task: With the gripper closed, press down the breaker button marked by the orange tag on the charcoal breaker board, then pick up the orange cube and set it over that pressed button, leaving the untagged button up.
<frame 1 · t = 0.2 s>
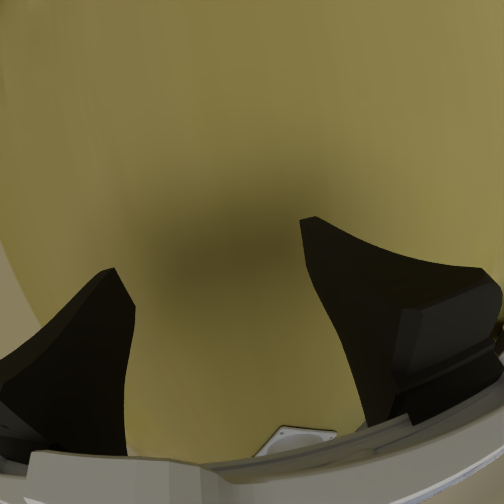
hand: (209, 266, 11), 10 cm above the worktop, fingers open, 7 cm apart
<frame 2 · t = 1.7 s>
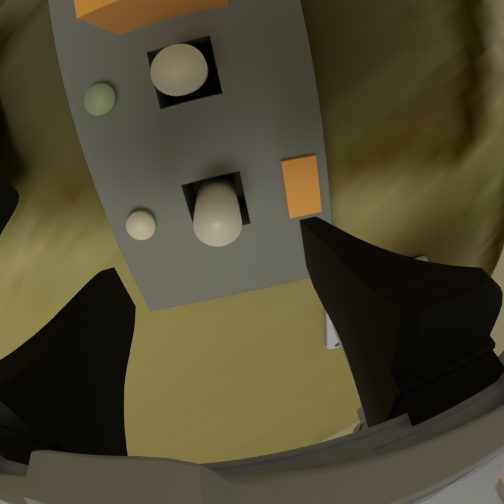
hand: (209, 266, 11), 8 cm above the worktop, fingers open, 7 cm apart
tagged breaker: (217, 208, 15), point 4 cm above the worktop, slide at 0.0 cm
breaker board: (197, 106, 16), on the worktop
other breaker: (183, 71, 12), point 3 cm above the worktop, slide at 0.0 cm
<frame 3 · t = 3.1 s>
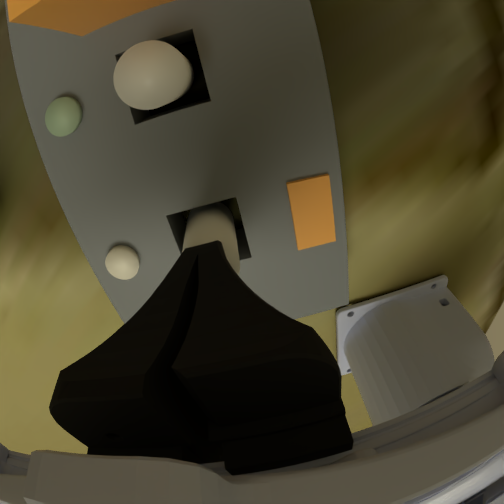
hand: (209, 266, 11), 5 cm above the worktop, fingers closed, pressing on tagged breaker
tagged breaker: (210, 242, 13), point 3 cm above the worktop, slide at 0.1 cm, touching gripper
breaker board: (183, 116, 13), on the worktop
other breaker: (159, 75, 9), point 3 cm above the worktop, slide at 0.0 cm
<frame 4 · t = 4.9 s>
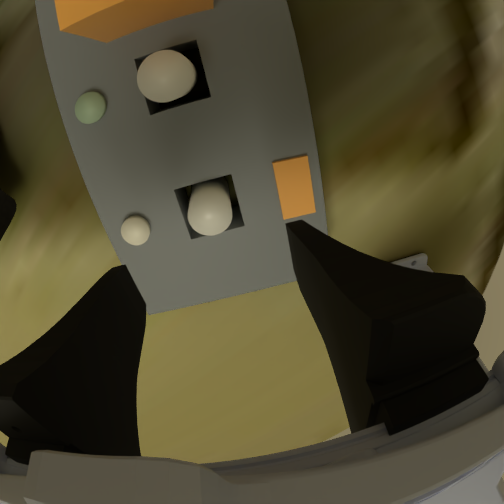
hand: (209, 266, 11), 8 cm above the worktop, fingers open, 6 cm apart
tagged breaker: (210, 201, 17), point 2 cm above the worktop, slide at 1.4 cm
breaker board: (188, 110, 16), on the worktop
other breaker: (170, 76, 12), point 3 cm above the worktop, slide at 0.0 cm
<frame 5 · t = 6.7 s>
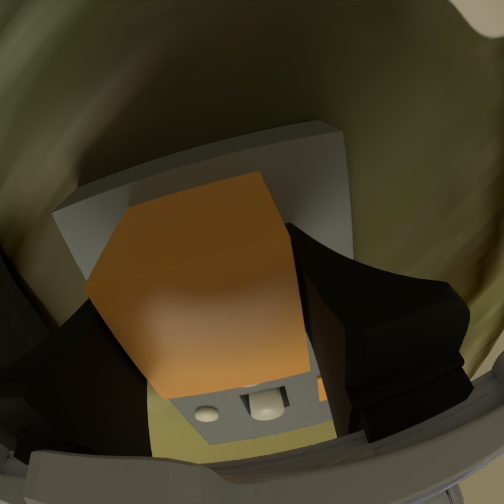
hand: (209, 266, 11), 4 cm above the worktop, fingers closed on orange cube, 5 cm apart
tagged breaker: (263, 390, 20), point 2 cm above the worktop, slide at 1.4 cm
orange cube: (209, 247, 12), point 3 cm above the worktop, touching breaker board, gripper
breaker board: (244, 322, 19), on the worktop
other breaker: (242, 344, 15), point 3 cm above the worktop, slide at 0.0 cm
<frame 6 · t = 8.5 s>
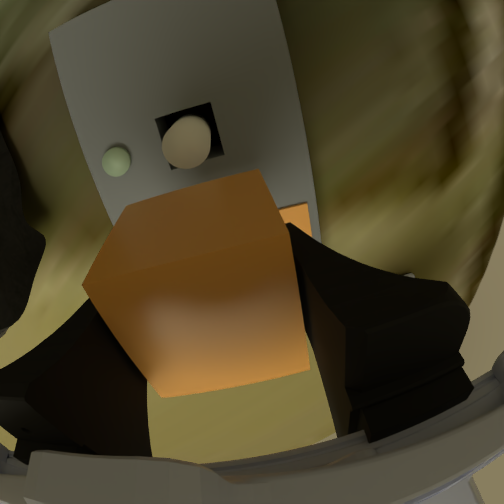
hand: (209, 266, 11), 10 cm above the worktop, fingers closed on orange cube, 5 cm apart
orange cube: (208, 245, 12), point 8 cm above the worktop, touching gripper
breaker board: (201, 157, 19), on the worktop
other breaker: (189, 138, 15), point 3 cm above the worktop, slide at 0.0 cm
when the fingers open (5 cm above the worktop, at t = 10.4 s): orange cube drops 1 cm, resting on breaker board.
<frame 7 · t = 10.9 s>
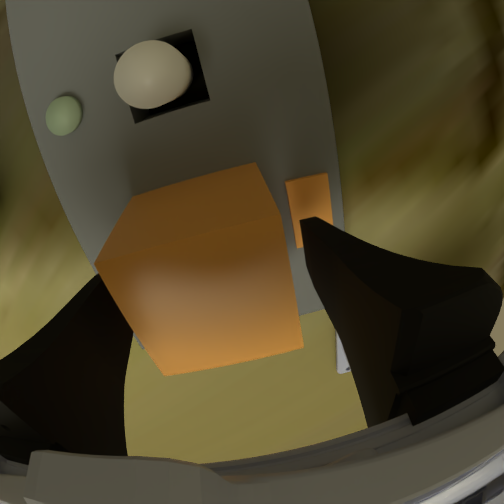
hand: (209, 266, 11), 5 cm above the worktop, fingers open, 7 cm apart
orange cube: (209, 234, 13), point 3 cm above the worktop, touching breaker board
breaker board: (182, 115, 13), on the worktop
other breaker: (159, 75, 9), point 3 cm above the worktop, slide at 0.0 cm
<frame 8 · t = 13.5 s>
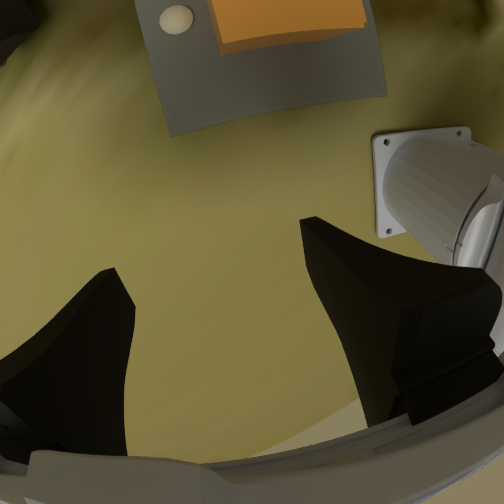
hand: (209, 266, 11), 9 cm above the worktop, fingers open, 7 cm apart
orange cube: (261, 1, 11), point 3 cm above the worktop, touching breaker board
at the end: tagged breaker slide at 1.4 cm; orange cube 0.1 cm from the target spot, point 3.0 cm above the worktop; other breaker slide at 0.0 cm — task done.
